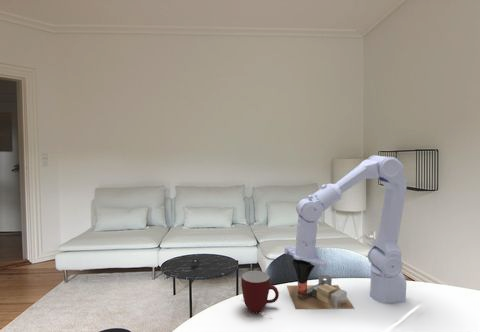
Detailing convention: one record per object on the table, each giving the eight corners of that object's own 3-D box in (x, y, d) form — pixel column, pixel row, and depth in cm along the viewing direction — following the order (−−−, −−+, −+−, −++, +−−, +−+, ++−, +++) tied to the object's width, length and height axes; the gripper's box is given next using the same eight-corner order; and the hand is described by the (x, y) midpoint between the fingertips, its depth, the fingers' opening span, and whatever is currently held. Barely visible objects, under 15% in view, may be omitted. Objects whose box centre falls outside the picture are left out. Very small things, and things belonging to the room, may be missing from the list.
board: (337, 288, 107) (337, 285, 107) (354, 311, 92) (354, 308, 92) (286, 288, 106) (286, 285, 106) (295, 312, 92) (295, 309, 92)
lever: (323, 283, 107) (324, 268, 107) (335, 288, 103) (336, 273, 103) (293, 296, 98) (294, 280, 98) (305, 302, 95) (306, 286, 94)
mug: (276, 302, 97) (276, 270, 96) (280, 317, 89) (280, 282, 88) (240, 303, 97) (241, 270, 96) (241, 318, 89) (241, 282, 88)
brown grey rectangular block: (340, 300, 96) (340, 289, 96) (346, 303, 95) (346, 291, 95) (330, 306, 93) (330, 294, 93) (336, 308, 92) (336, 297, 91)
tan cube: (325, 294, 100) (325, 283, 100) (336, 299, 97) (336, 288, 97) (316, 298, 98) (317, 287, 97) (327, 303, 95) (328, 292, 94)
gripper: (278, 234, 99) (275, 277, 100) (317, 249, 87) (312, 298, 89) (294, 231, 103) (291, 272, 104) (332, 245, 92) (328, 291, 93)
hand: (302, 284), depth 97 cm, fingers closed, pressing on lever
